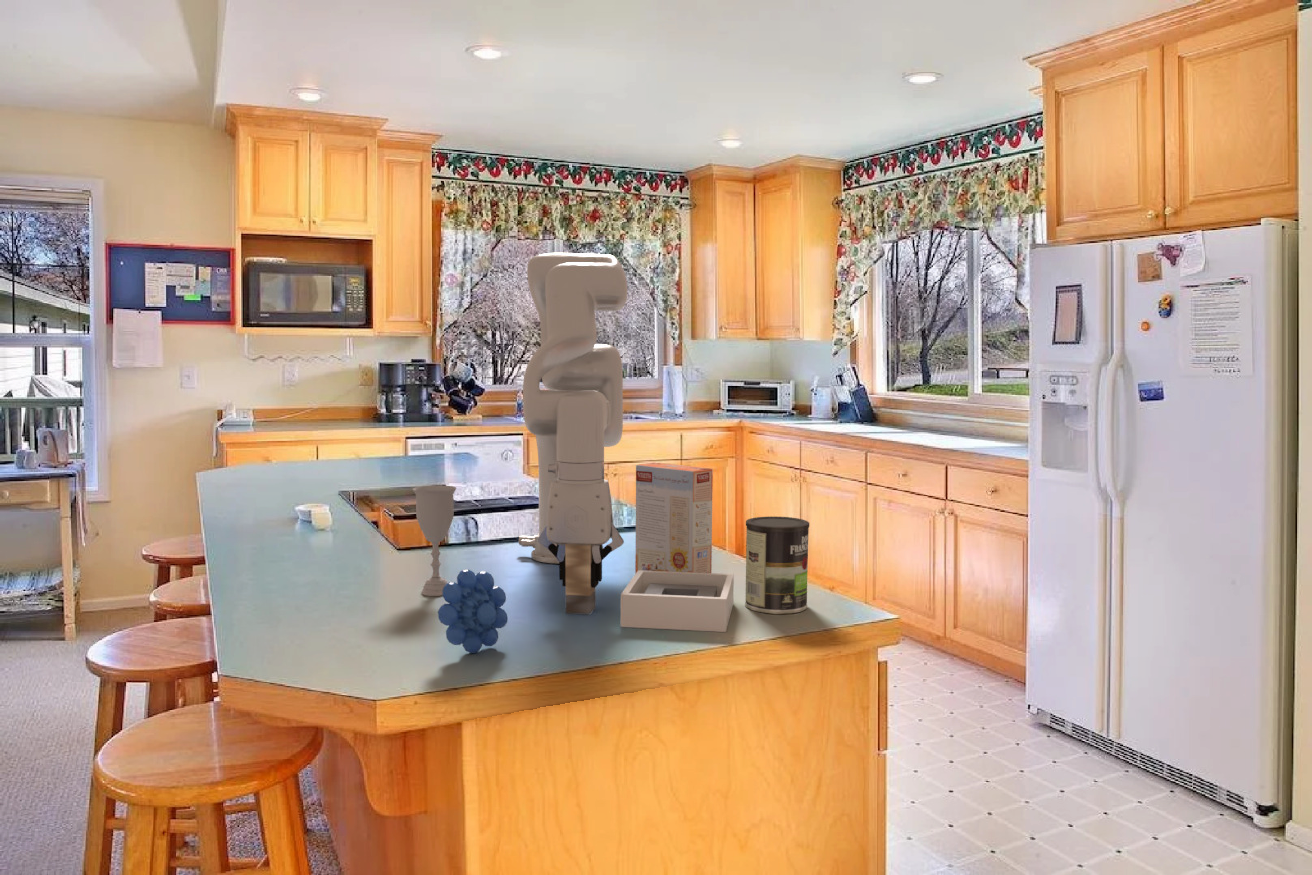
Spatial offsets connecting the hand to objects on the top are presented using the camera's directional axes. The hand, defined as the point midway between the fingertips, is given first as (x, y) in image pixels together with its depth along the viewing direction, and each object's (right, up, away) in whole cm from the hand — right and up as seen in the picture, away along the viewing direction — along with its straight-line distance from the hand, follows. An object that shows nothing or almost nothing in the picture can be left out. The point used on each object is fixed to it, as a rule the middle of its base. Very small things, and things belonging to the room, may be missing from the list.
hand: (580, 583), depth 157 cm
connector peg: (0, -4, 0) cm, 4 cm away
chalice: (-26, -3, +11) cm, 28 cm away
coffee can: (+32, -4, +4) cm, 32 cm away
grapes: (-12, -7, -22) cm, 26 cm away
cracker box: (+15, -3, +21) cm, 26 cm away
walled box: (+16, -5, -2) cm, 17 cm away
